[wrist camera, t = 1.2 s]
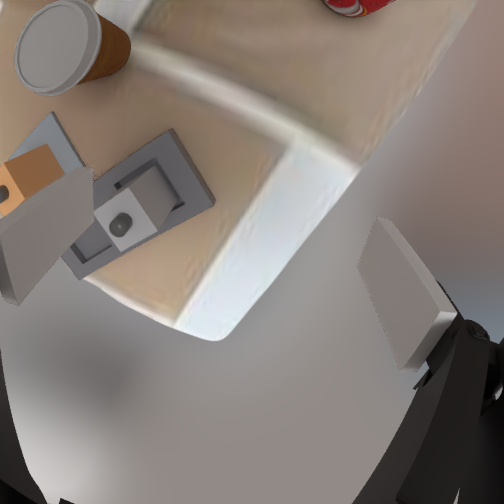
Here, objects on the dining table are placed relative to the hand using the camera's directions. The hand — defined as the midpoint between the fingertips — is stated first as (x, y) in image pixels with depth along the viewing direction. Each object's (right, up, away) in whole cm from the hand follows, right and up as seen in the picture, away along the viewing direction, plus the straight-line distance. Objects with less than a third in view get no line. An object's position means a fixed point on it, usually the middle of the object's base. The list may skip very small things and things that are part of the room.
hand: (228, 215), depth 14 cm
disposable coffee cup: (-16, +22, +14) cm, 30 cm away
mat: (-27, +10, +21) cm, 35 cm away
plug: (-27, +10, +21) cm, 35 cm away
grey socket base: (-16, +4, +24) cm, 30 cm away
